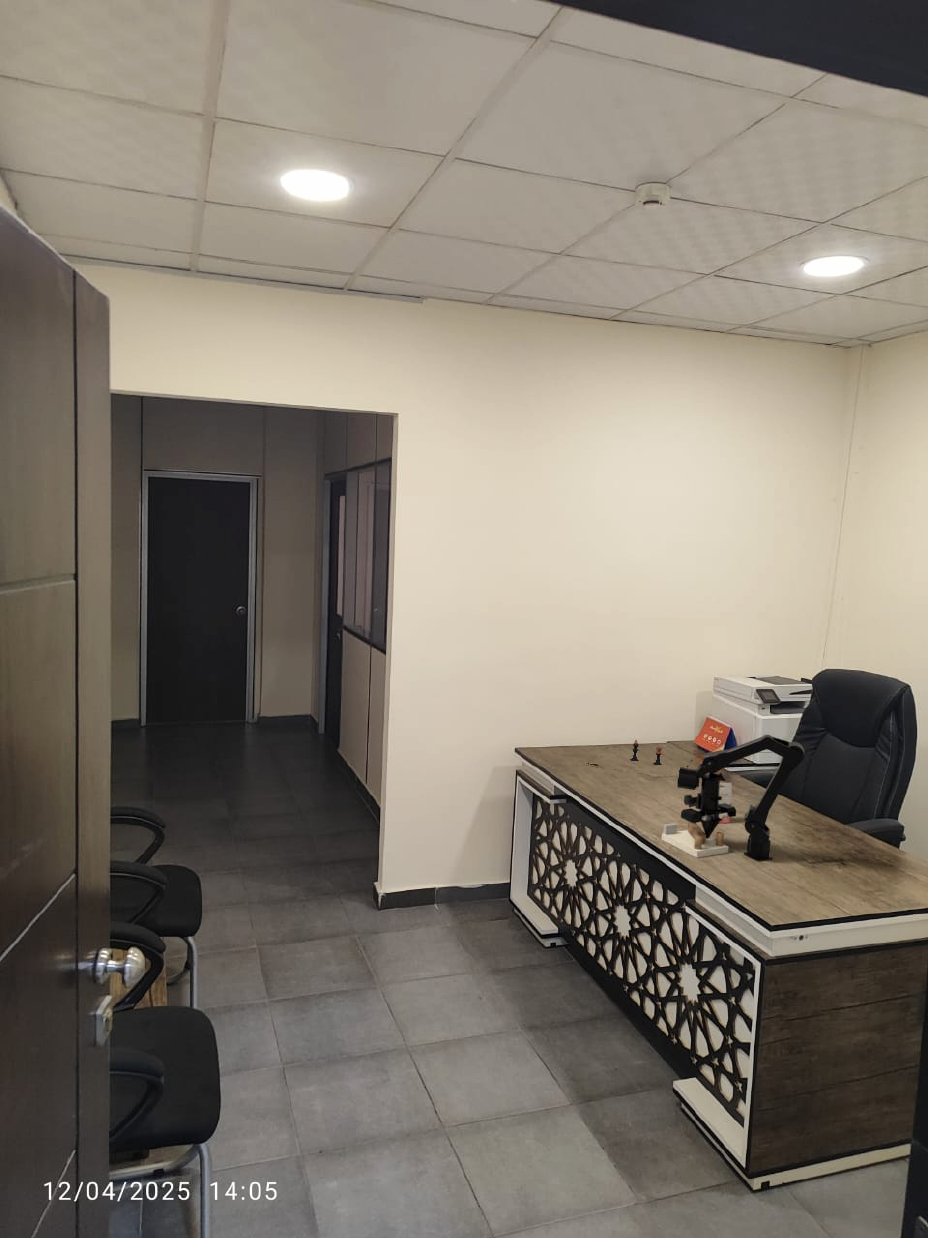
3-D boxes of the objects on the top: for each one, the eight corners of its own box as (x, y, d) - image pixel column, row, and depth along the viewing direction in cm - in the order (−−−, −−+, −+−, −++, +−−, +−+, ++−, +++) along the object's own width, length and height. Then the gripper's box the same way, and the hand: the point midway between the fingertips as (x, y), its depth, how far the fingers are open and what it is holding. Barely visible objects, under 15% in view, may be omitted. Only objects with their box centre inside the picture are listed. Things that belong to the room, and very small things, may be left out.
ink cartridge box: (723, 818, 310) (726, 779, 309) (729, 823, 305) (733, 783, 304) (701, 819, 308) (704, 779, 307) (707, 823, 304) (711, 783, 302)
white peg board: (727, 852, 275) (729, 834, 275) (696, 857, 269) (698, 839, 269) (691, 835, 290) (693, 818, 290) (661, 839, 284) (662, 821, 284)
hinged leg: (687, 831, 288) (688, 819, 287) (694, 831, 288) (695, 819, 287) (697, 843, 276) (698, 831, 276) (705, 843, 276) (706, 831, 276)
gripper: (715, 781, 288) (712, 826, 290) (671, 787, 280) (668, 833, 282) (738, 791, 278) (735, 837, 280) (693, 798, 270) (691, 845, 272)
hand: (707, 838), depth 279 cm, fingers closed
